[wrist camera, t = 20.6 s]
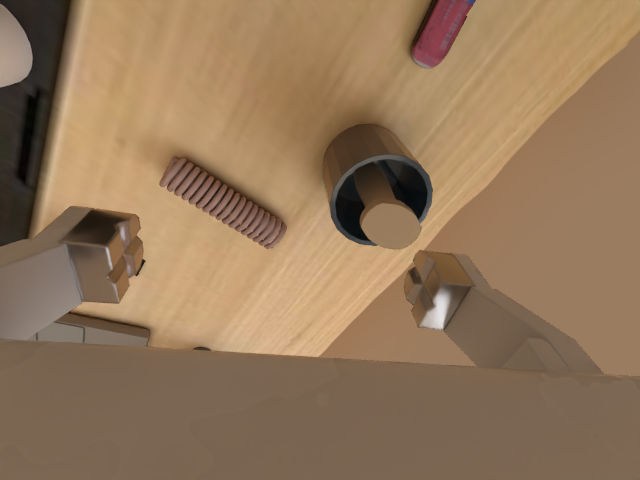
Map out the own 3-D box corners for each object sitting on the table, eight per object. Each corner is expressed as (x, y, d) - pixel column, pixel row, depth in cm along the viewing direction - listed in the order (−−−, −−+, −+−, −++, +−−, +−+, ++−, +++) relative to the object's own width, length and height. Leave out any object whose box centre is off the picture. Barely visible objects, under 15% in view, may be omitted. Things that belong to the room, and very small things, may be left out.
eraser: (433, 71, 40) (438, 74, 38) (404, 58, 38) (408, 60, 37) (493, -43, 33) (502, -45, 32) (460, -63, 32) (468, -65, 31)
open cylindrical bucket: (332, 116, 42) (343, 145, 33) (416, 132, 44) (449, 164, 35) (315, 196, 48) (321, 239, 39) (389, 207, 50) (411, 250, 41)
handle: (356, 141, 43) (383, 194, 31) (393, 166, 45) (430, 224, 33) (335, 170, 45) (352, 230, 33) (371, 193, 48) (399, 256, 35)
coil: (290, 235, 46) (169, 158, 39) (270, 257, 48) (151, 188, 40) (288, 220, 50) (178, 148, 43) (270, 241, 52) (161, 175, 44)
